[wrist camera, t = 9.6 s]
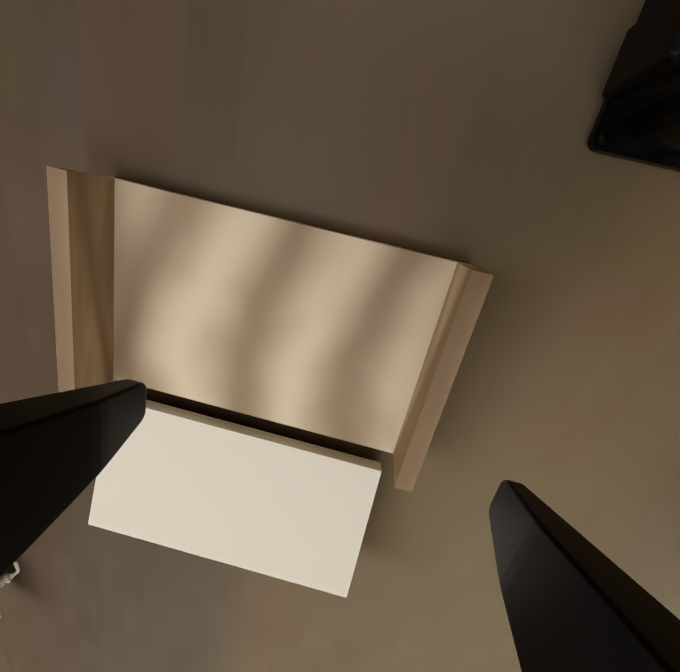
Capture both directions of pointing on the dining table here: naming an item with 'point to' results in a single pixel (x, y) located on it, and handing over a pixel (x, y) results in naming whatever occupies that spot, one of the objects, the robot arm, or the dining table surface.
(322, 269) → the tray
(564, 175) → the dining table surface
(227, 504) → the panel
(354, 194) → the dining table surface
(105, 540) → the dining table surface
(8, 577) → the rocket engine
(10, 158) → the dining table surface
